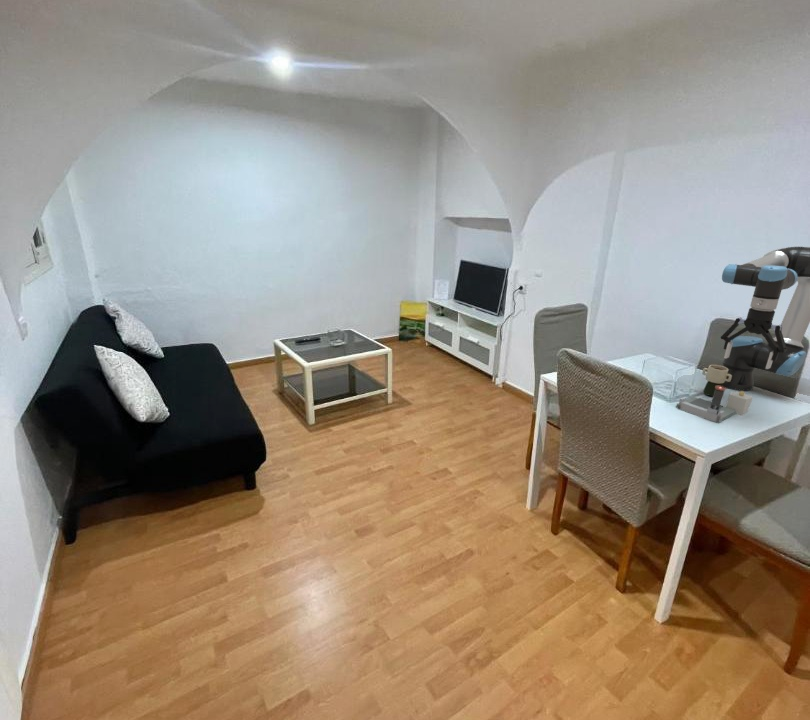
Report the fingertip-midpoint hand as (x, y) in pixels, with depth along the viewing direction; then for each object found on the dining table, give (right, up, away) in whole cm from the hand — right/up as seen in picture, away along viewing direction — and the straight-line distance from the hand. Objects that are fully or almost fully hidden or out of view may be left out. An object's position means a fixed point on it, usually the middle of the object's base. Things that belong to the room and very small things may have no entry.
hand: (746, 362), depth 165 cm
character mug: (+4, -15, +25) cm, 30 cm away
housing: (+4, -20, +10) cm, 23 cm away
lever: (-12, -19, +2) cm, 22 cm away
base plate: (-9, -20, +10) cm, 24 cm away
